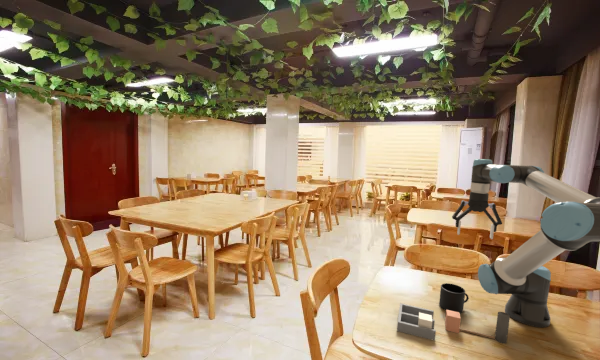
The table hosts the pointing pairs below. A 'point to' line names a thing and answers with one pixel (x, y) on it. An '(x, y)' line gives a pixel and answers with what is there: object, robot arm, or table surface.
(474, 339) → the table surface
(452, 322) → the block
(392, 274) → the table surface
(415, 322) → the lane shelf
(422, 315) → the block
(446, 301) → the mug
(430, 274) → the table surface
